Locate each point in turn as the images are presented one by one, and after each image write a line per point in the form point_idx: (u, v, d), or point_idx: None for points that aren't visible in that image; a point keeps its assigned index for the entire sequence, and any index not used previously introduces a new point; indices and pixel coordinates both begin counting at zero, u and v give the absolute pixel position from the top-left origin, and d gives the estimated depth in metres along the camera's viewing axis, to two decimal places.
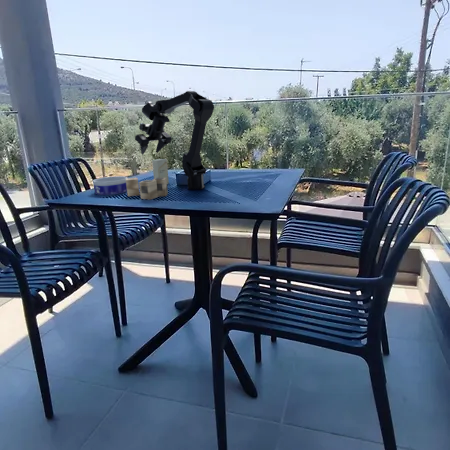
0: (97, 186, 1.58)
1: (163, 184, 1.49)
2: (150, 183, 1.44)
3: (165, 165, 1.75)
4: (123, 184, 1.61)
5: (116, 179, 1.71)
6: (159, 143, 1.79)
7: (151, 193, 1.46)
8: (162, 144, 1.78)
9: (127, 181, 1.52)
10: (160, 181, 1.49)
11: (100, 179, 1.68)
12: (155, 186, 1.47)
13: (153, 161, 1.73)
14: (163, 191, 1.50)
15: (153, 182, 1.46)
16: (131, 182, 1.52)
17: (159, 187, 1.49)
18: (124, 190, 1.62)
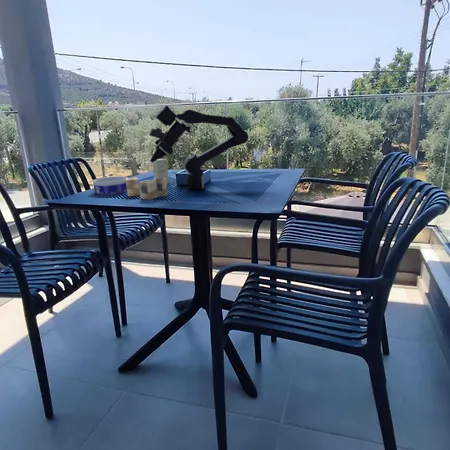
0: (97, 186, 1.58)
1: (163, 184, 1.49)
2: (150, 183, 1.44)
3: (165, 165, 1.75)
4: (123, 184, 1.61)
5: (116, 179, 1.71)
6: None
7: (151, 193, 1.46)
8: None
9: (127, 181, 1.52)
10: (160, 181, 1.49)
11: (100, 179, 1.68)
12: (155, 186, 1.47)
13: None
14: (163, 191, 1.50)
15: (153, 182, 1.46)
16: (131, 182, 1.52)
17: (159, 187, 1.49)
18: (124, 190, 1.62)
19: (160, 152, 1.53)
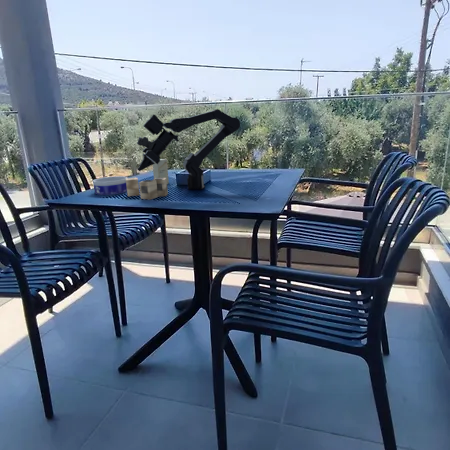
0: (97, 186, 1.58)
1: (163, 184, 1.49)
2: (150, 183, 1.44)
3: (165, 165, 1.75)
4: (123, 184, 1.61)
5: (116, 179, 1.71)
6: None
7: (151, 193, 1.46)
8: None
9: (127, 181, 1.52)
10: (160, 181, 1.49)
11: (100, 179, 1.68)
12: (155, 186, 1.47)
13: None
14: (163, 191, 1.50)
15: (153, 182, 1.46)
16: (131, 182, 1.52)
17: (159, 187, 1.49)
18: (124, 190, 1.62)
19: (148, 161, 1.53)
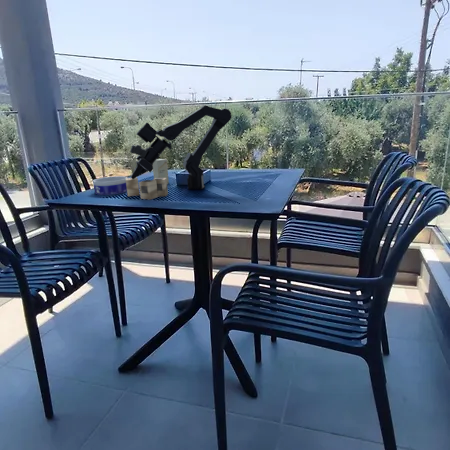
0: (97, 186, 1.58)
1: (163, 184, 1.49)
2: (150, 183, 1.44)
3: (165, 165, 1.75)
4: (123, 184, 1.61)
5: (116, 179, 1.71)
6: None
7: (151, 193, 1.46)
8: None
9: (127, 181, 1.52)
10: (160, 181, 1.49)
11: (100, 179, 1.68)
12: (155, 186, 1.47)
13: None
14: (163, 191, 1.50)
15: (153, 182, 1.46)
16: (131, 182, 1.52)
17: (159, 187, 1.49)
18: (124, 190, 1.62)
19: (141, 169, 1.53)
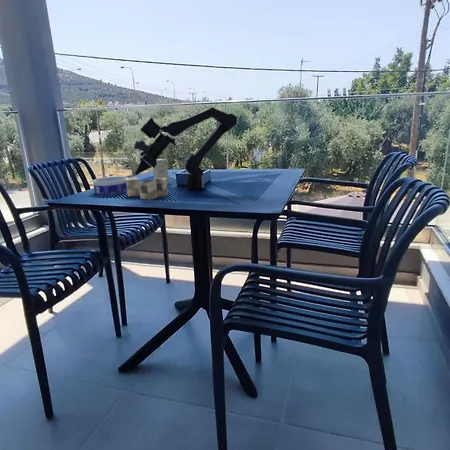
0: (97, 186, 1.58)
1: (163, 184, 1.49)
2: (150, 183, 1.44)
3: (165, 165, 1.75)
4: (123, 184, 1.61)
5: (116, 179, 1.71)
6: None
7: (151, 193, 1.46)
8: None
9: (127, 181, 1.52)
10: (160, 181, 1.48)
11: (100, 179, 1.68)
12: (155, 187, 1.47)
13: None
14: (163, 191, 1.50)
15: (153, 182, 1.46)
16: (131, 182, 1.52)
17: (159, 187, 1.49)
18: (124, 190, 1.62)
19: (144, 164, 1.53)
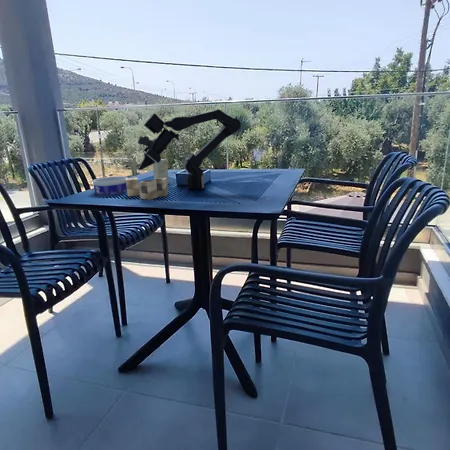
0: (97, 186, 1.58)
1: (163, 184, 1.49)
2: (150, 183, 1.44)
3: (165, 165, 1.75)
4: (123, 184, 1.61)
5: (116, 179, 1.71)
6: None
7: (151, 193, 1.46)
8: None
9: (127, 181, 1.52)
10: (160, 181, 1.48)
11: (100, 179, 1.68)
12: (155, 186, 1.47)
13: None
14: (163, 191, 1.50)
15: (153, 182, 1.46)
16: (131, 182, 1.52)
17: (159, 187, 1.49)
18: (124, 190, 1.62)
19: (149, 160, 1.53)
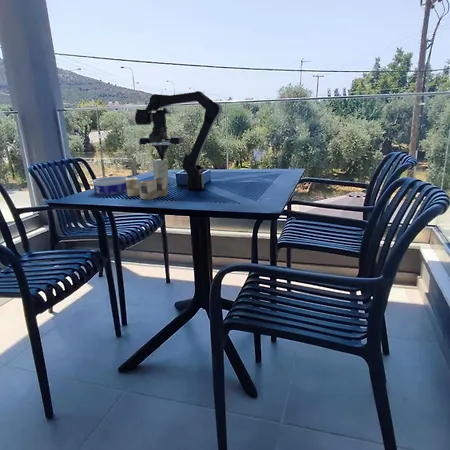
0: (97, 186, 1.58)
1: (163, 184, 1.49)
2: (150, 183, 1.44)
3: (165, 165, 1.75)
4: (123, 184, 1.61)
5: (116, 179, 1.71)
6: (160, 149, 1.61)
7: (151, 193, 1.46)
8: None
9: (127, 181, 1.52)
10: (160, 181, 1.48)
11: (100, 179, 1.68)
12: (155, 186, 1.47)
13: (153, 161, 1.73)
14: (163, 191, 1.50)
15: (153, 182, 1.46)
16: (131, 182, 1.52)
17: (159, 187, 1.49)
18: (124, 190, 1.62)
19: (164, 147, 1.61)
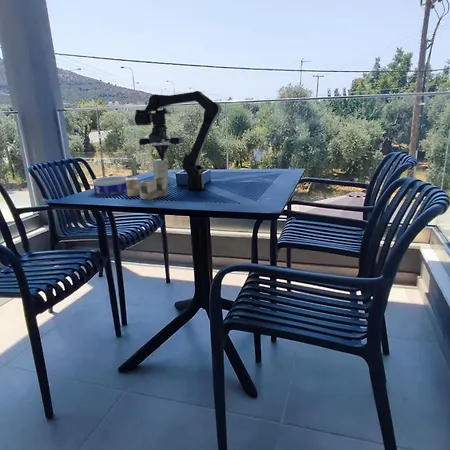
0: (97, 186, 1.58)
1: (163, 184, 1.49)
2: (150, 183, 1.44)
3: (165, 165, 1.75)
4: (123, 184, 1.61)
5: (116, 179, 1.71)
6: (160, 149, 1.61)
7: (151, 193, 1.46)
8: None
9: (127, 181, 1.52)
10: (160, 181, 1.48)
11: (100, 179, 1.68)
12: (155, 186, 1.47)
13: (153, 161, 1.73)
14: (163, 191, 1.50)
15: (153, 182, 1.46)
16: (131, 182, 1.52)
17: (159, 187, 1.49)
18: (124, 190, 1.62)
19: (164, 147, 1.61)
